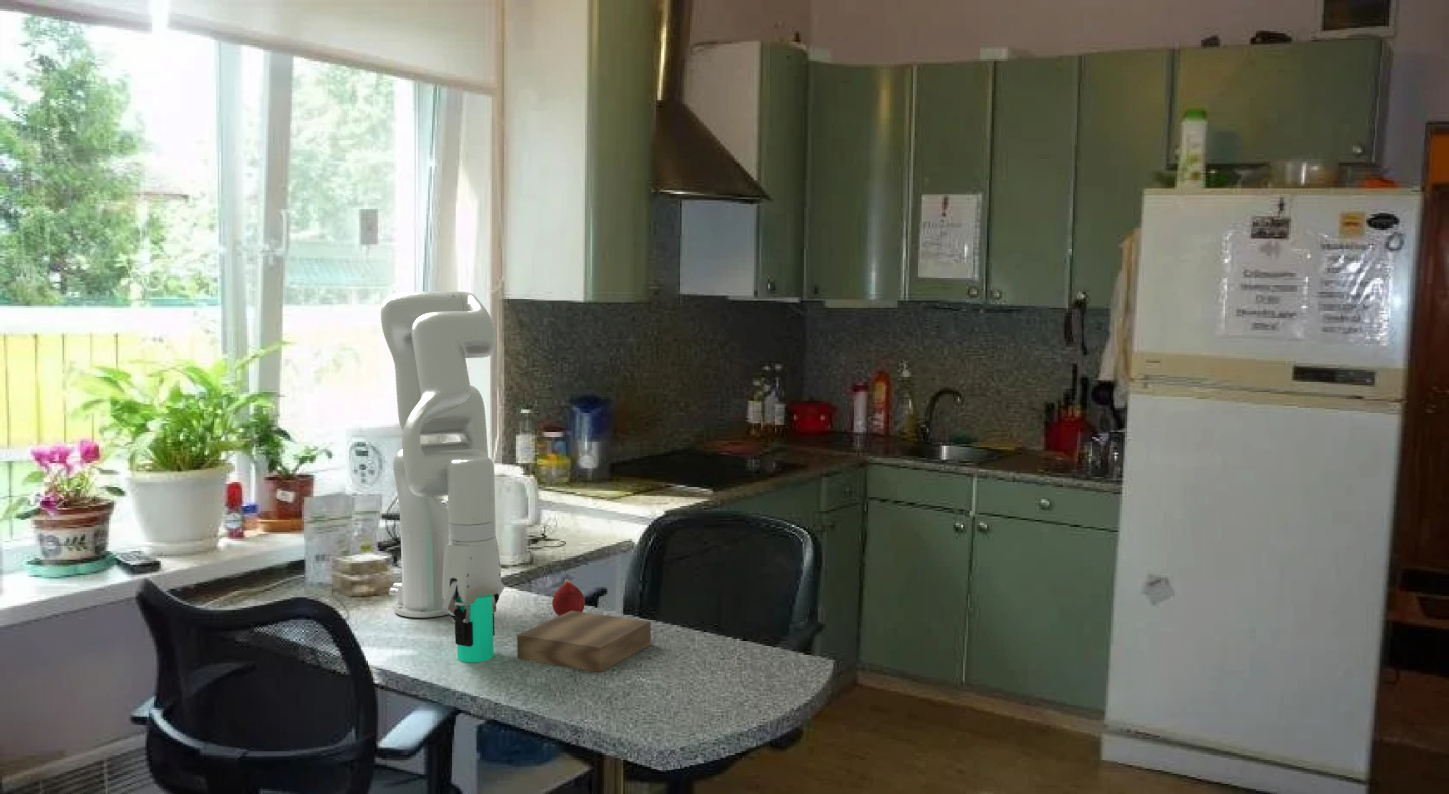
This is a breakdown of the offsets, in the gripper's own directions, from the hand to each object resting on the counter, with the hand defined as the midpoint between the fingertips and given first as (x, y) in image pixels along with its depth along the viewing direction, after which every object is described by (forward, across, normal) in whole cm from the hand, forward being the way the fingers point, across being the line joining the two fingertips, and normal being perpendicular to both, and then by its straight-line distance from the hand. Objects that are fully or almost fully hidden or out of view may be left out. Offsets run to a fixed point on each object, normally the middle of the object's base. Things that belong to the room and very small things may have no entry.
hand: (475, 639), depth 191 cm
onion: (+3, -23, +3) cm, 23 cm away
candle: (+3, 0, 0) cm, 3 cm away
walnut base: (+3, -10, +15) cm, 18 cm away
